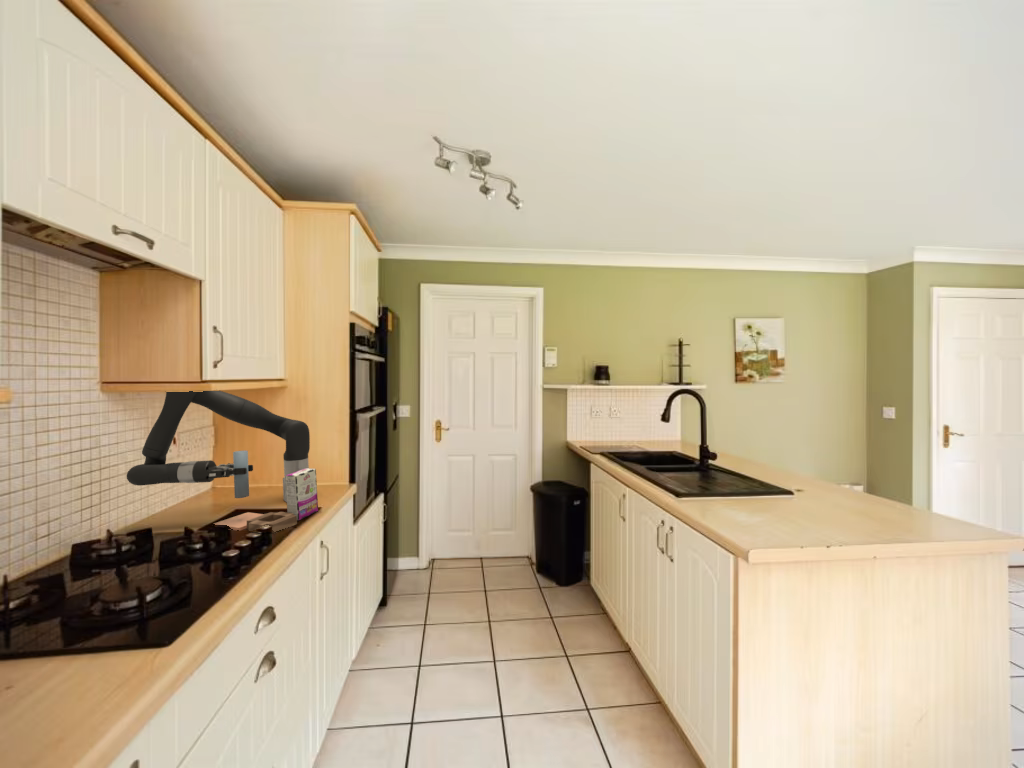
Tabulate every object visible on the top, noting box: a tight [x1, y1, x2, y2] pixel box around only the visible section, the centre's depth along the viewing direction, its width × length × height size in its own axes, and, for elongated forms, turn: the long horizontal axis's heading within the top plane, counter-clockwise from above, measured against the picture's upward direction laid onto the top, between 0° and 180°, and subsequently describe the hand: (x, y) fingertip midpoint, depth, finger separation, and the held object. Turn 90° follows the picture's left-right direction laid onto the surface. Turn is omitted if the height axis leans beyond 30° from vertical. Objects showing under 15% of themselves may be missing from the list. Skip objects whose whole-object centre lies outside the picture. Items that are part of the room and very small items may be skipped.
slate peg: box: [232, 450, 250, 499], centre depth 157 cm, size 4×4×16 cm
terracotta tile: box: [213, 511, 265, 532], centre depth 158 cm, size 13×13×1 cm
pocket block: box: [246, 511, 298, 533], centre depth 152 cm, size 12×12×3 cm
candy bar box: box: [285, 467, 319, 521], centre depth 164 cm, size 11×5×16 cm, turn 168°
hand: (249, 469), depth 157 cm, fingers closed on slate peg, 4 cm apart
